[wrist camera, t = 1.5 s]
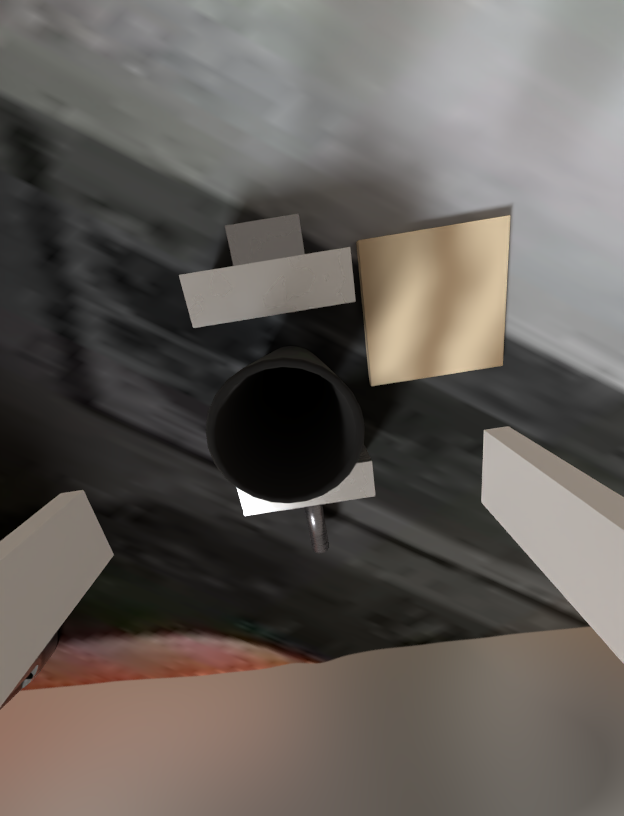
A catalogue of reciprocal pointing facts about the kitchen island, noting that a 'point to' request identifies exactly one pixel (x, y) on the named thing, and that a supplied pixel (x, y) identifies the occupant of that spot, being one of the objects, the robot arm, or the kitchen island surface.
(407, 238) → the coaster
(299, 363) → the cup
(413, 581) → the kitchen island surface
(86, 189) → the kitchen island surface
